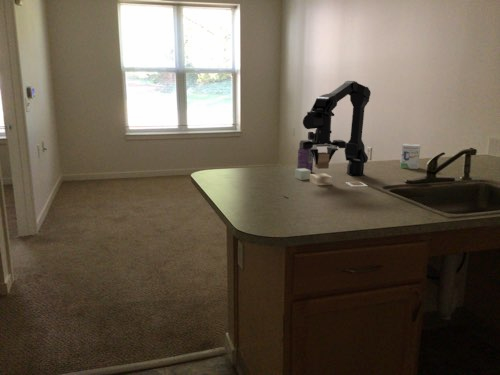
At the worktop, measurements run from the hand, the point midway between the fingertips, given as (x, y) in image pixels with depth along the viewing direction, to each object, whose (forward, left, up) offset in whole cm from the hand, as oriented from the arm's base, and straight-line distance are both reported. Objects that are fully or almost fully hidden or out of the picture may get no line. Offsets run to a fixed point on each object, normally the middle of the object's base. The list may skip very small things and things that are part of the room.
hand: (321, 164), depth 187 cm
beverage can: (0, -22, -8) cm, 23 cm away
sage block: (+5, -9, -8) cm, 13 cm away
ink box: (-56, -26, -8) cm, 62 cm away
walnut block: (0, 0, -1) cm, 1 cm away
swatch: (-14, +5, -8) cm, 17 cm away
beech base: (0, 0, -8) cm, 8 cm away
